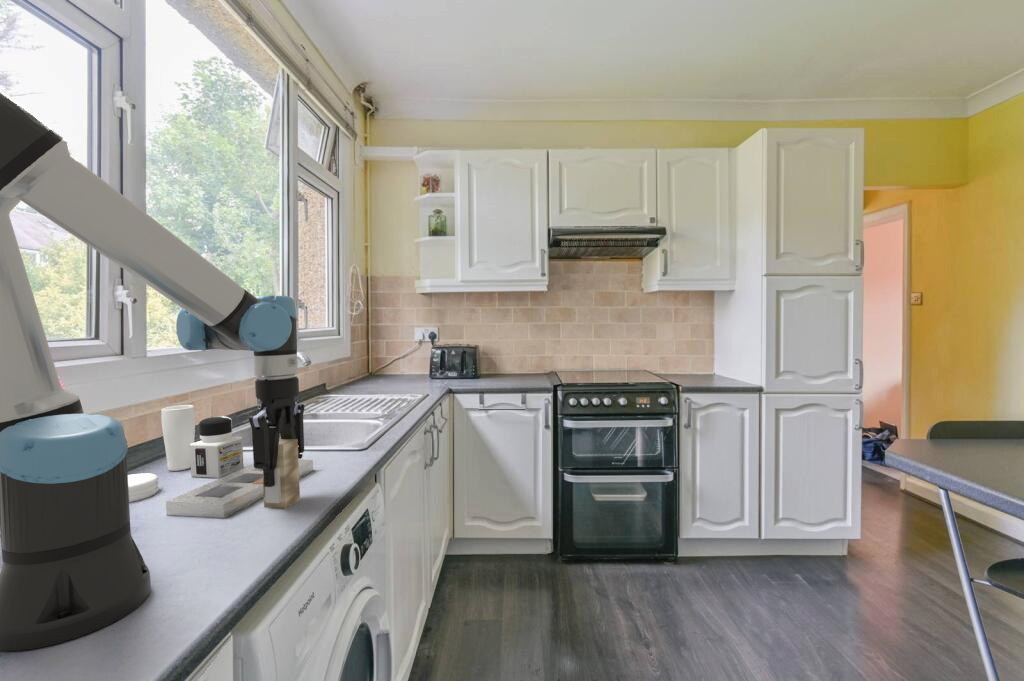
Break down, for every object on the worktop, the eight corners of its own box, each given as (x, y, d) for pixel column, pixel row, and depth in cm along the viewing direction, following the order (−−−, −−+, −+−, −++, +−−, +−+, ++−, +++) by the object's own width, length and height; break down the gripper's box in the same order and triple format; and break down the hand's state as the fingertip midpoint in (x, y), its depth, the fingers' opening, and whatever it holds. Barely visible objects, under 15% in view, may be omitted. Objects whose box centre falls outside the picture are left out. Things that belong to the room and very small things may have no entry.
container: (219, 478, 112) (216, 421, 111) (190, 477, 113) (187, 420, 112) (244, 468, 119) (241, 414, 118) (216, 467, 121) (214, 414, 120)
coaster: (90, 499, 100) (89, 482, 100) (148, 485, 109) (147, 469, 108) (106, 509, 95) (105, 491, 94) (166, 494, 103) (165, 477, 103)
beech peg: (285, 508, 93) (283, 444, 92) (264, 507, 94) (261, 444, 93) (300, 499, 97) (297, 439, 97) (279, 498, 98) (276, 438, 97)
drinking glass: (164, 467, 121) (161, 406, 120) (197, 462, 125) (194, 403, 124) (163, 474, 115) (160, 410, 115) (197, 469, 119) (194, 407, 119)
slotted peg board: (224, 518, 89) (223, 503, 88) (166, 514, 91) (165, 500, 91) (313, 470, 116) (312, 459, 116) (267, 468, 118) (267, 457, 118)
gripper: (263, 382, 85) (269, 516, 86) (320, 371, 102) (325, 482, 103) (225, 382, 86) (231, 514, 87) (287, 371, 104) (292, 481, 105)
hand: (282, 496), depth 95 cm, fingers closed on beech peg, 4 cm apart
